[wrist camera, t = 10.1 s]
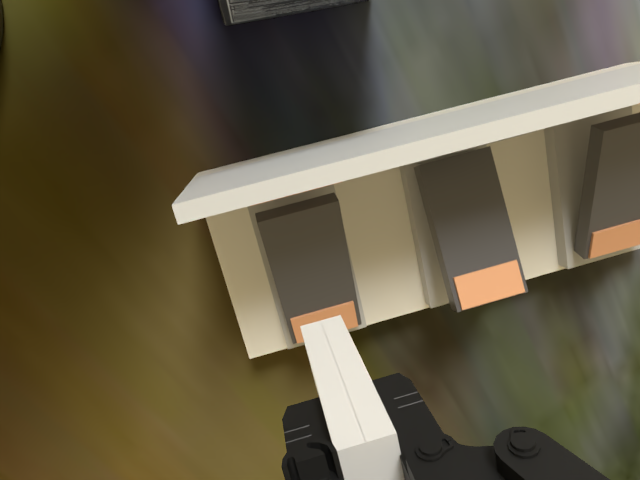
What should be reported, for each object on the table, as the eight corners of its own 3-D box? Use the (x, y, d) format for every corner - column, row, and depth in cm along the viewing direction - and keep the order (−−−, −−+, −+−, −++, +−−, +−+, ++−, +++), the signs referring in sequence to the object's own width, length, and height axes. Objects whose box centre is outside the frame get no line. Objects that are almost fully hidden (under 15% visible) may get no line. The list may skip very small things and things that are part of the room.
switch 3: (573, 250, 37) (585, 261, 36) (591, 125, 32) (606, 132, 30) (634, 233, 38) (648, 242, 36) (662, 106, 32) (680, 113, 31)
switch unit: (249, 341, 40) (250, 445, 28) (197, 172, 36) (171, 205, 24) (635, 231, 43) (796, 281, 30) (624, 63, 39) (805, 40, 26)
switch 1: (290, 332, 35) (293, 346, 34) (254, 213, 30) (257, 224, 29) (357, 313, 36) (362, 326, 35) (334, 192, 30) (339, 202, 29)
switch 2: (451, 309, 34) (458, 312, 32) (413, 167, 34) (419, 164, 32) (519, 290, 34) (530, 292, 33) (482, 149, 34) (491, 145, 33)
